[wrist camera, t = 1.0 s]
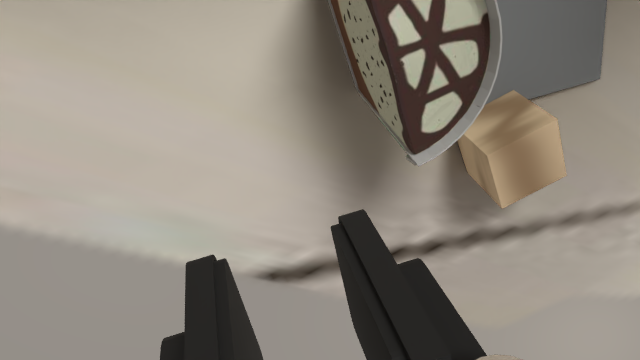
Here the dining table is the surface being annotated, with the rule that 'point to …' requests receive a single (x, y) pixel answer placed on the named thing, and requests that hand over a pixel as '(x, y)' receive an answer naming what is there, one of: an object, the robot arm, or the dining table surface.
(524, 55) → the mat
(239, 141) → the dining table surface
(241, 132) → the dining table surface
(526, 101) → the oak block
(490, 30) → the food container
